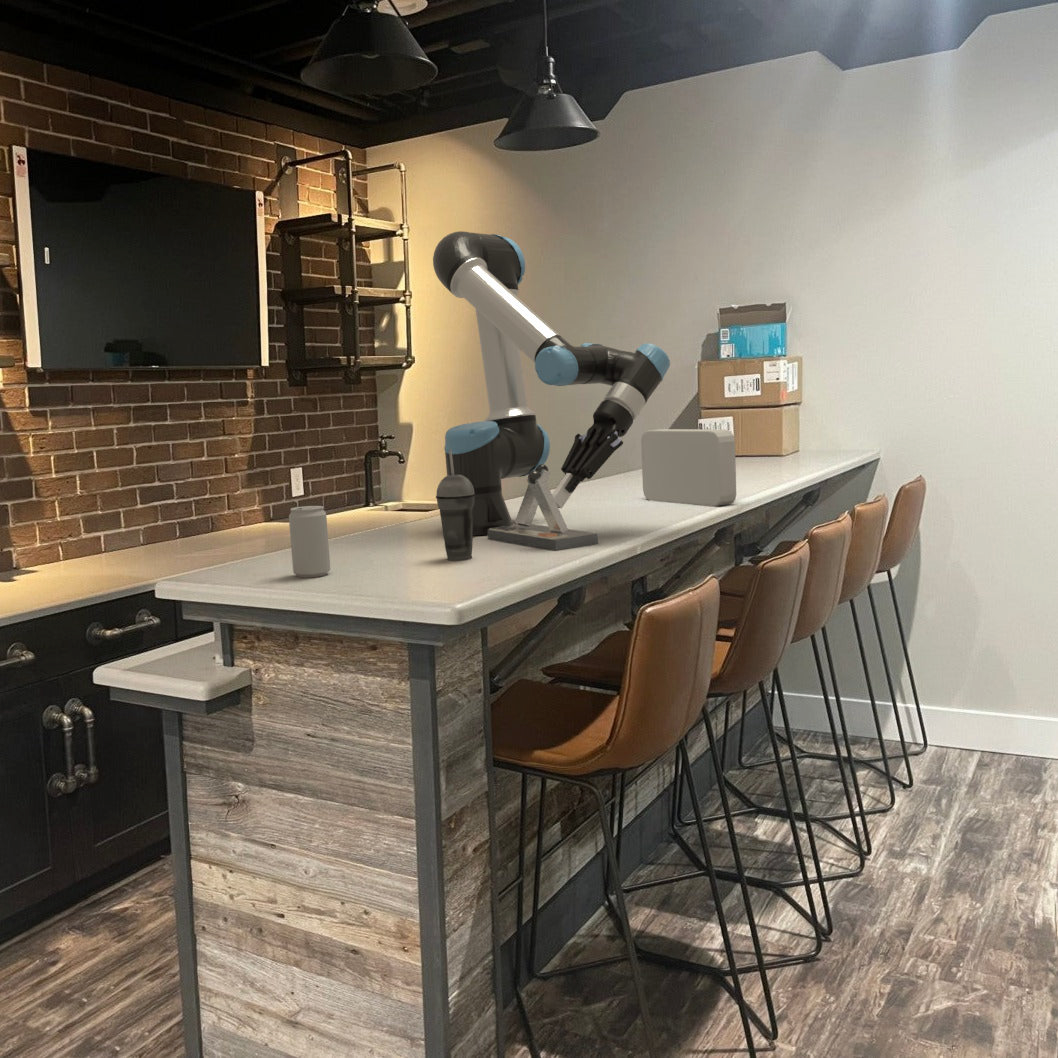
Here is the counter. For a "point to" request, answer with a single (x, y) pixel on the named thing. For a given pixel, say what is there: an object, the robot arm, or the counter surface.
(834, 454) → the counter surface
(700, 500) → the gray rounded block
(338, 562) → the counter surface
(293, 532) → the beverage can
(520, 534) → the switch base
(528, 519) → the inner lever
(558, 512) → the outer lever
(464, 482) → the beverage cup
